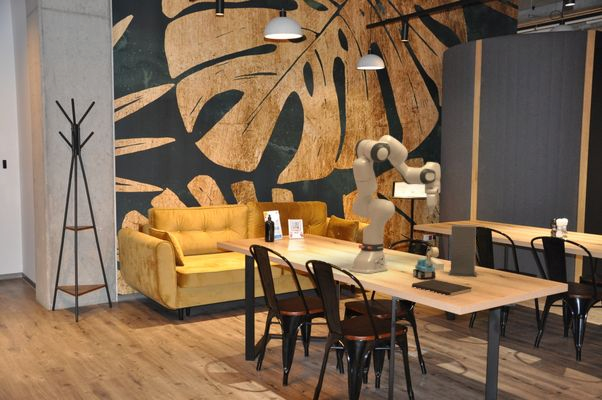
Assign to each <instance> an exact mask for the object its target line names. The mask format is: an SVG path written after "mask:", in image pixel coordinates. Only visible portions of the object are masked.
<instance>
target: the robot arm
mask: <svg viewBox="0 0 602 400" xmlns="http://www.w3.org/2000/svg"><path fill="white" fill-rule="evenodd" d="M354 149H355V150H354V152H355V153H354V157H355V159H354V161H353V164H352V171H353V172H352V173H353V176H354V180H355V182H354V183H355V185H356V189H357V196H356V197H357V198H356V199H355V200H354V201H353V203H352V209H351V210H352V213H353V214H354V216H358V217H360V218H365V219H370V222H369V224H368V225H366V226H364V228H363V230H362V243H361V244H358V249H360V252H359V253H358V254H357V256H355V258H354V260H353V266H352V267H350V268H348V269H349V272H353V273H359V274H374V273H379V272H385V271H388V267H387V264H386V263H387V262H386V254H385V253H384V248H385V244H384V230H385V226H386V225H387V223H388V221H389V220H390V219H392V217H393V216H394V214H395V212H396V207H395V204H394V203H393V201H390V200H388V199H382V198H374V196H373V195H374V194H375V193H376V192H377V190H378V187H379V186H378V182H377V177H376V174H375V170H374V163H376V164H377V163H384V162H385V161H386V160H389V164H390V165H391V166H392V167H393V168H394V169H395V170H396V171H397V172H398V173H399V175H400V176H401V178H402V180H403V182H404V184H406V185H422V186H423V185H424V193H425V194H426V206H427V207H428V209H429V215H433V214H434V213H435V209H436V206H437V205H438V204H437V203H438V196H439V194H440V193H441V175H442V174H441V170H442V169H441V165H440V164H439V162H437V161H427V162H426V163H425V165H423V166H421V167H411V166H408V165H407V164H406V162H405V161H407V158H408V155H409V154H408V150H407V148H406V146H405V145H403V144H402V143H401V142H400V141H399V140H397V139H396V138H394V137H393V136H391V135H389V134H385V135H383V136H381V137H380V138H379V139H378V141H377V140H373V139H368V138H363V139H359V140H358V141H356V144H355V147H354Z"/></svg>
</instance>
